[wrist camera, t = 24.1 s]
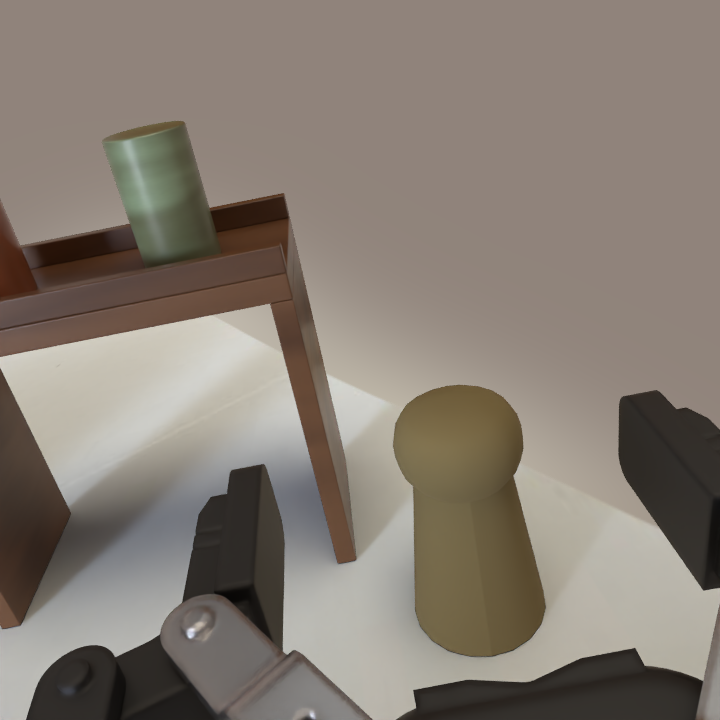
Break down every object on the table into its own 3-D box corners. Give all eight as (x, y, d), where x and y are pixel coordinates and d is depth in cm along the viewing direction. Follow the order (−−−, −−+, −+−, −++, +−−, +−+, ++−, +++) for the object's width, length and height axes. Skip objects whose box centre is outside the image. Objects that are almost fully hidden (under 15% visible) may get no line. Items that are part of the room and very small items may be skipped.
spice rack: (356, 560, 35) (250, 123, 25) (2, 629, 36) (-248, 222, 25) (345, 459, 43) (261, 96, 33) (56, 516, 44) (-117, 172, 33)
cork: (428, 549, 35) (395, 366, 30) (548, 558, 33) (535, 364, 28) (402, 647, 30) (358, 448, 25) (542, 665, 28) (525, 452, 23)
